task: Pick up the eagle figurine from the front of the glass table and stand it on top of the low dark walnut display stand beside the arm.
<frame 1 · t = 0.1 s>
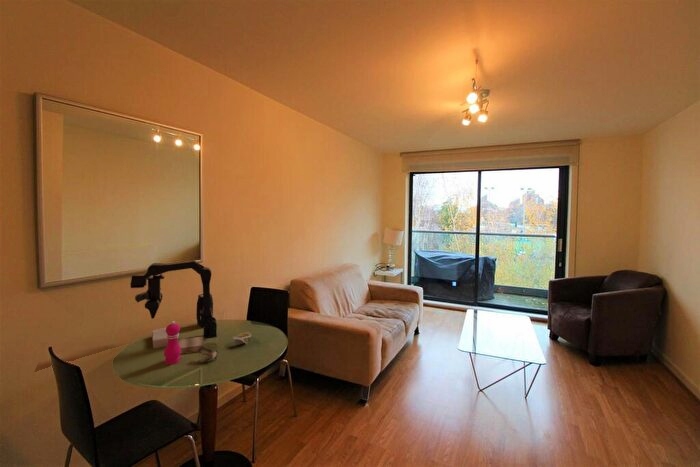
hand: (154, 315, 172), 15 cm above the table, tool pointing down, fingers open, 9 cm apart
plinth: (190, 347, 169), on the table
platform: (242, 345, 177), on the table
eagle figurine: (207, 361, 157), on the table
brick: (161, 341, 175), on the table
pepper mill: (172, 361, 154), on the table
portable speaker: (204, 325, 201), on the table
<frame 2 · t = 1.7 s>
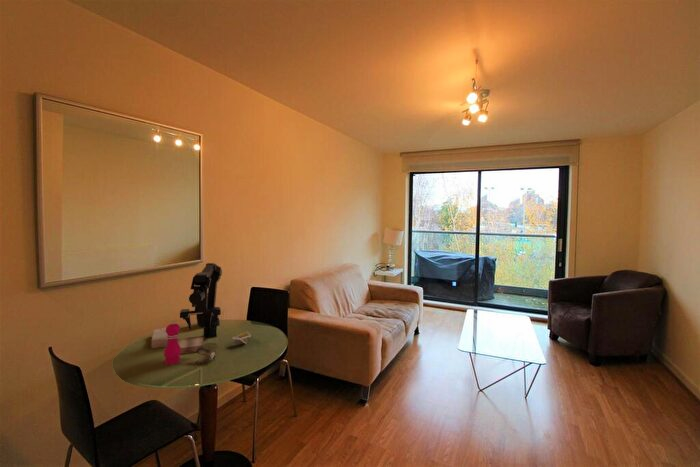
hand: (200, 328, 164), 12 cm above the table, tool pointing down, fingers open, 9 cm apart
nothing on the table moved.
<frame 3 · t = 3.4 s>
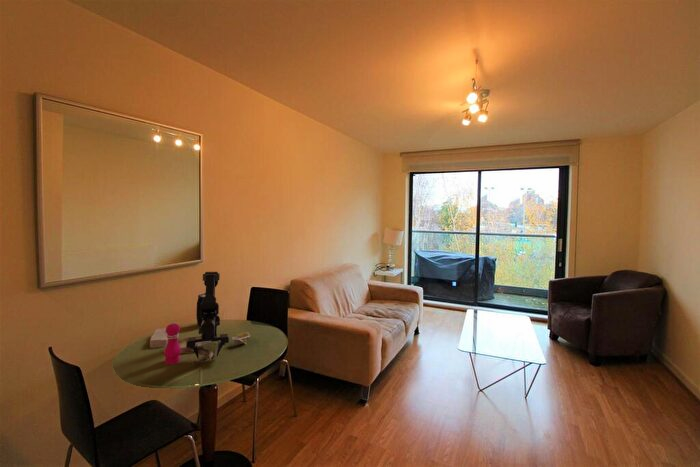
hand: (207, 357, 157), 2 cm above the table, tool pointing down, fingers open, 8 cm apart
eagle figurine: (204, 361, 156), on the table, touching gripper
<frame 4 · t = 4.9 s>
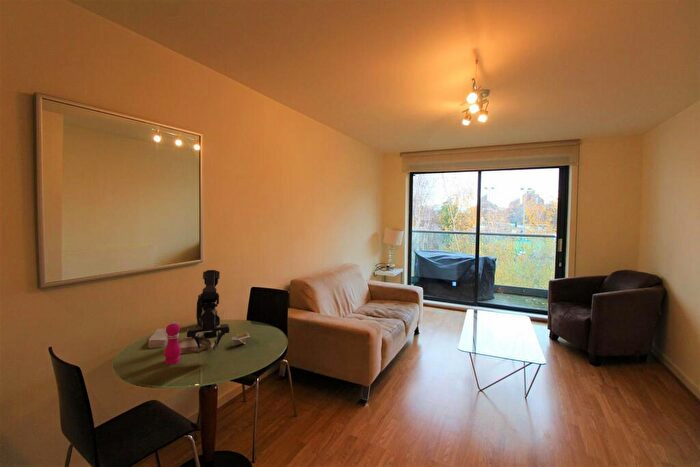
hand: (208, 347, 156), 7 cm above the table, tool pointing down, fingers closed on eagle figurine, 7 cm apart
eagle figurine: (205, 351, 156), point 5 cm above the table, touching gripper
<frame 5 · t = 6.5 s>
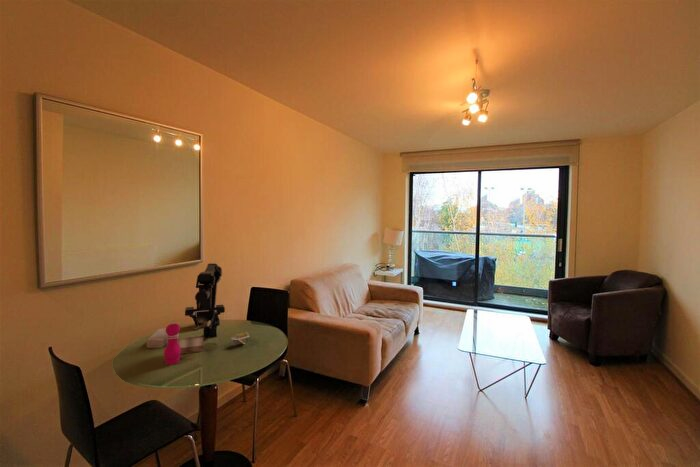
hand: (204, 325, 168), 12 cm above the table, tool pointing down, fingers closed on eagle figurine, 7 cm apart
eagle figurine: (202, 329, 168), point 11 cm above the table, touching gripper
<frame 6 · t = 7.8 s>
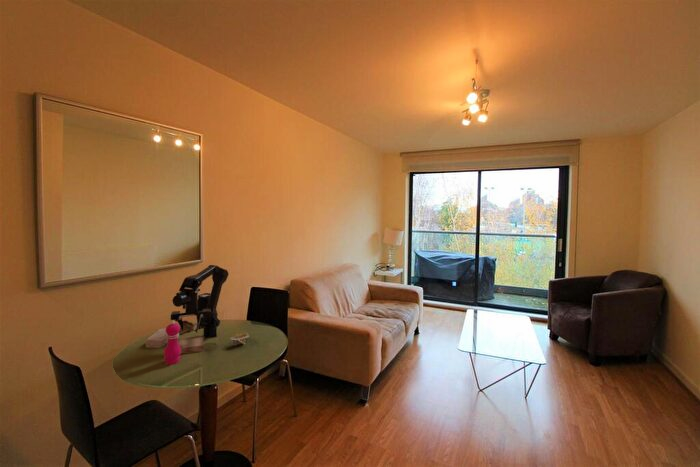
hand: (191, 330, 169), 10 cm above the table, tool pointing down, fingers closed on eagle figurine, 7 cm apart
eagle figurine: (188, 333, 168), point 8 cm above the table, touching gripper
when the fingers open (6 cm above the table, at t = 9.2 s): eagle figurine drops 1 cm, resting on plinth.
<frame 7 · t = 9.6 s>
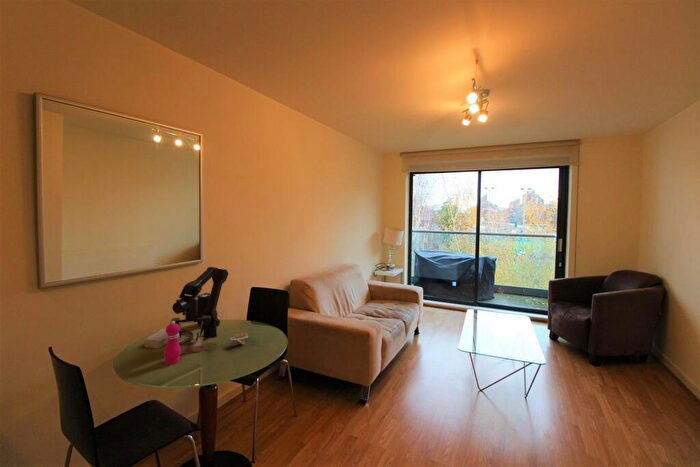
hand: (190, 336, 169), 6 cm above the table, tool pointing down, fingers open, 9 cm apart
eagle figurine: (188, 342, 169), point 3 cm above the table, touching plinth
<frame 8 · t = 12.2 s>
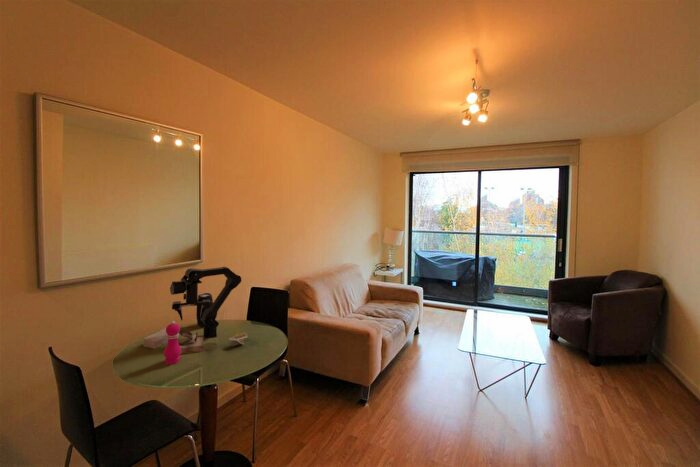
hand: (191, 319, 177), 12 cm above the table, tool pointing down, fingers open, 9 cm apart
at the end: eagle figurine inside the target area on the plinth (1.3 cm from its centre), point 2.8 cm above the plinth's base; eagle figurine tilted 0°; the gripper is holding nothing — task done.
